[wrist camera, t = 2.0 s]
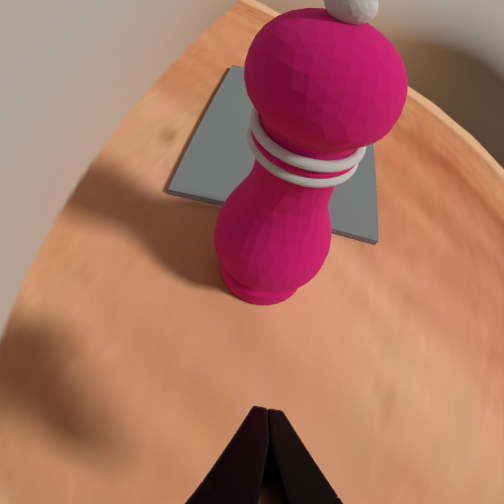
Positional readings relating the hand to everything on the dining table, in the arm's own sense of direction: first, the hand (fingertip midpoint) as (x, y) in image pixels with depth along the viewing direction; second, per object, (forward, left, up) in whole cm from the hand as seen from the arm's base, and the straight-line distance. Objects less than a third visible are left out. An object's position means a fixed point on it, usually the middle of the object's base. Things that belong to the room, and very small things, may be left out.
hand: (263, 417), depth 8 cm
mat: (+23, +13, -12) cm, 29 cm away
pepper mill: (+9, +6, -12) cm, 17 cm away
